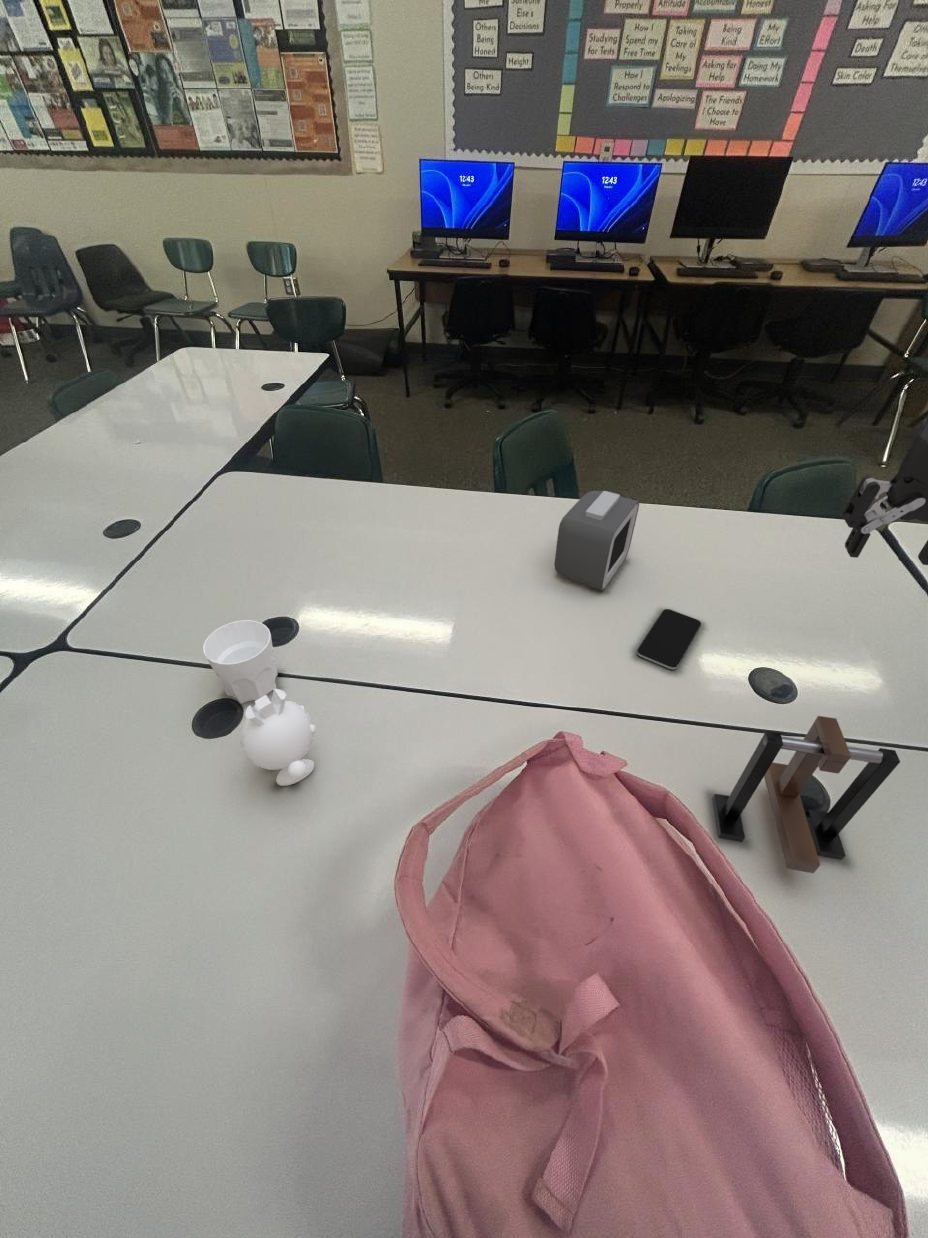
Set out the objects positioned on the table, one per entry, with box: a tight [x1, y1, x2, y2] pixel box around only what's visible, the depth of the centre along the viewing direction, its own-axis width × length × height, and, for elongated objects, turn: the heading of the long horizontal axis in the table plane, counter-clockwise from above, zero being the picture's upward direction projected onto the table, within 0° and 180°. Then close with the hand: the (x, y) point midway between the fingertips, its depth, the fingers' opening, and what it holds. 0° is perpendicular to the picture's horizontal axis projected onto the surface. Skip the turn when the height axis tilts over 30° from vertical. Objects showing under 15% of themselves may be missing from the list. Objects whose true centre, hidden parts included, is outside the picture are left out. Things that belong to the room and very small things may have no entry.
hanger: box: [763, 715, 851, 874], centre depth 67 cm, size 3×14×15 cm, turn 169°
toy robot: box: [239, 688, 317, 787], centre depth 77 cm, size 15×10×15 cm, turn 36°
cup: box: [202, 619, 279, 704], centre depth 91 cm, size 10×10×10 cm
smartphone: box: [636, 608, 702, 670], centre depth 102 cm, size 7×1×15 cm
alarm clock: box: [553, 490, 640, 592], centre depth 114 cm, size 16×11×16 cm
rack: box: [712, 730, 901, 860], centre depth 69 cm, size 15×6×18 cm, turn 79°
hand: (887, 557), depth 73 cm, fingers open, 8 cm apart
